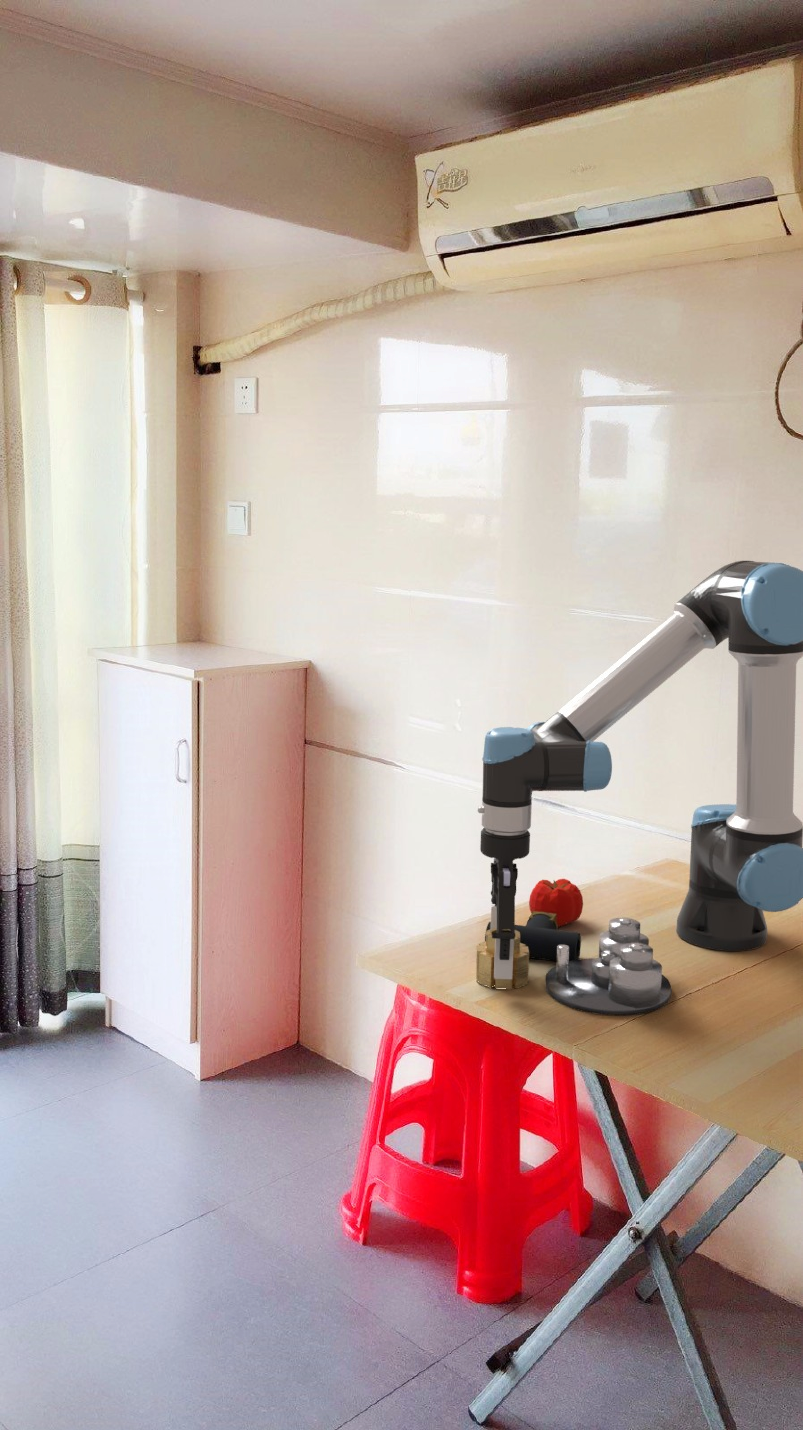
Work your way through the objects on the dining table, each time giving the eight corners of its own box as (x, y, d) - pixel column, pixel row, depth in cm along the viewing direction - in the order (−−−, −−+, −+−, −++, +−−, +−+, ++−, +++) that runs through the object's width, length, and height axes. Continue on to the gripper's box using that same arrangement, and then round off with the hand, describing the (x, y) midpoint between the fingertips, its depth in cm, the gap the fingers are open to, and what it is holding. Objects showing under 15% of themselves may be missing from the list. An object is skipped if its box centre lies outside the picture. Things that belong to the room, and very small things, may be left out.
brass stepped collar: (525, 970, 186) (527, 925, 184) (529, 990, 178) (530, 943, 177) (475, 969, 186) (476, 924, 185) (477, 989, 178) (478, 942, 177)
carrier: (658, 966, 188) (660, 911, 186) (682, 1017, 169) (685, 956, 167) (540, 964, 188) (541, 909, 186) (551, 1014, 169) (553, 953, 168)
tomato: (524, 928, 204) (525, 887, 203) (535, 912, 213) (536, 872, 211) (577, 934, 202) (579, 893, 200) (586, 918, 210) (587, 878, 209)
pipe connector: (502, 903, 202) (588, 914, 197) (501, 932, 203) (587, 943, 198) (484, 926, 191) (575, 938, 186) (484, 957, 192) (574, 969, 187)
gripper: (478, 808, 190) (474, 931, 194) (484, 851, 165) (479, 992, 169) (524, 809, 190) (519, 933, 193) (537, 853, 165) (531, 994, 169)
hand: (500, 961), depth 181 cm, fingers open, 13 cm apart
